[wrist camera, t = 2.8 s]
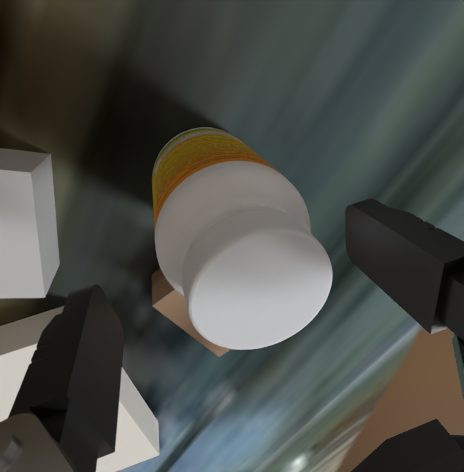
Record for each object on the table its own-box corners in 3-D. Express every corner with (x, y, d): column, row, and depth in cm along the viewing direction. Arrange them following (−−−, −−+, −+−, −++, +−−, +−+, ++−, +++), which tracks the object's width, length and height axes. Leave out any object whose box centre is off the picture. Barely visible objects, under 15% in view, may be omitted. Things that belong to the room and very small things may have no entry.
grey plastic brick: (-27, 143, 13) (-69, 162, 11) (51, 152, 14) (30, 172, 11) (-5, 260, 16) (-34, 298, 13) (60, 262, 17) (44, 298, 14)
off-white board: (-180, 383, 16) (-228, 430, 14) (78, 301, 18) (69, 332, 16) (-16, 486, 24) (-32, 527, 22) (158, 422, 25) (159, 455, 23)
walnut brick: (151, 272, 18) (152, 306, 16) (190, 243, 18) (197, 272, 15) (210, 322, 21) (219, 357, 19) (244, 298, 21) (258, 330, 19)
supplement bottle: (128, 173, 15) (104, 305, 7) (212, 101, 14) (298, 149, 6) (197, 241, 18) (240, 392, 10) (270, 183, 17) (384, 292, 9)
